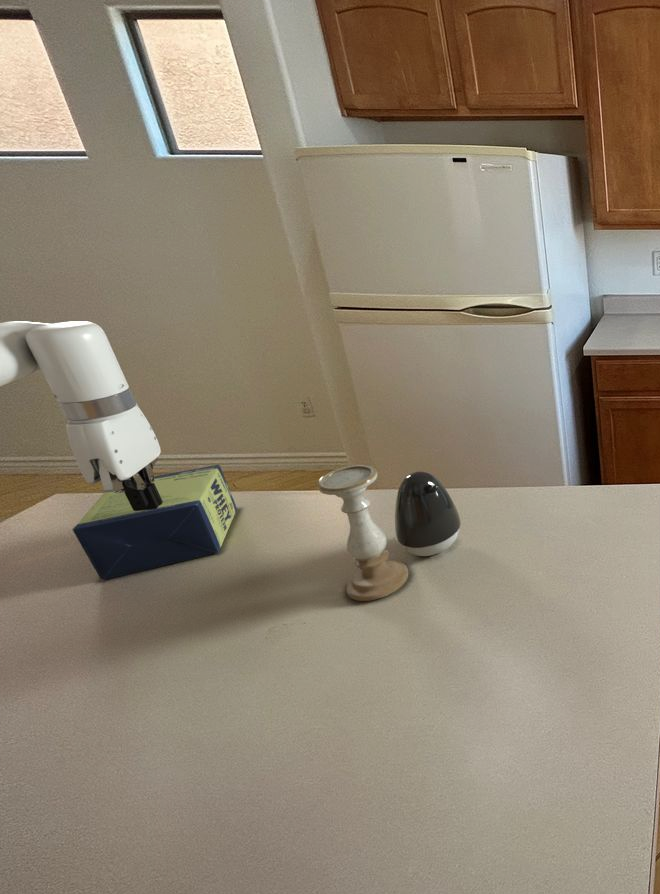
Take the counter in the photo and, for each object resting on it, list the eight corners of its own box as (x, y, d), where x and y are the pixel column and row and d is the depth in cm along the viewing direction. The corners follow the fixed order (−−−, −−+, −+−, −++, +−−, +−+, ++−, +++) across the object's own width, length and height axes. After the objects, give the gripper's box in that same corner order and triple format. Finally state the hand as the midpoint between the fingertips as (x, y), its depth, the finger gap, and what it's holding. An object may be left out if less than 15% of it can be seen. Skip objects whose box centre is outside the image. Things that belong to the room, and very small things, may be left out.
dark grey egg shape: (424, 572, 93) (404, 496, 87) (389, 551, 98) (368, 478, 92) (476, 541, 101) (462, 469, 95) (442, 523, 106) (426, 453, 100)
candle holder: (338, 605, 86) (300, 494, 78) (360, 568, 94) (327, 464, 86) (399, 598, 88) (368, 489, 79) (415, 562, 95) (389, 460, 87)
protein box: (199, 503, 93) (220, 463, 105) (69, 529, 86) (109, 482, 98) (221, 553, 97) (239, 509, 109) (99, 582, 90) (133, 531, 102)
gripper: (103, 389, 89) (149, 487, 96) (26, 428, 76) (86, 538, 83) (160, 385, 91) (201, 481, 98) (94, 422, 77) (147, 530, 85)
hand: (148, 507), depth 90 cm, fingers closed
